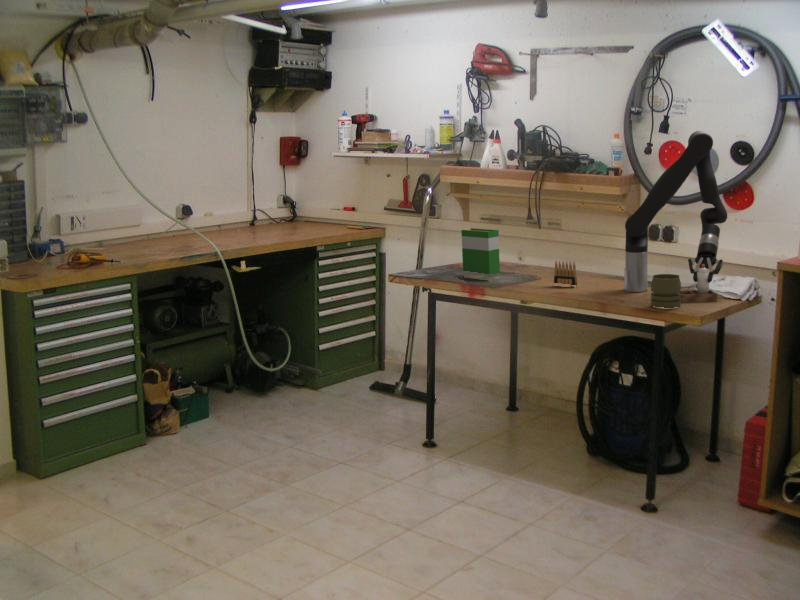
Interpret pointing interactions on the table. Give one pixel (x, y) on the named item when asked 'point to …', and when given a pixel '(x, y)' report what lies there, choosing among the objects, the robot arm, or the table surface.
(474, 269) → the green box
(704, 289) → the glue bottle
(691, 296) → the wooden compartment tray
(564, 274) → the ammunition clip
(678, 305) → the olive green pot
